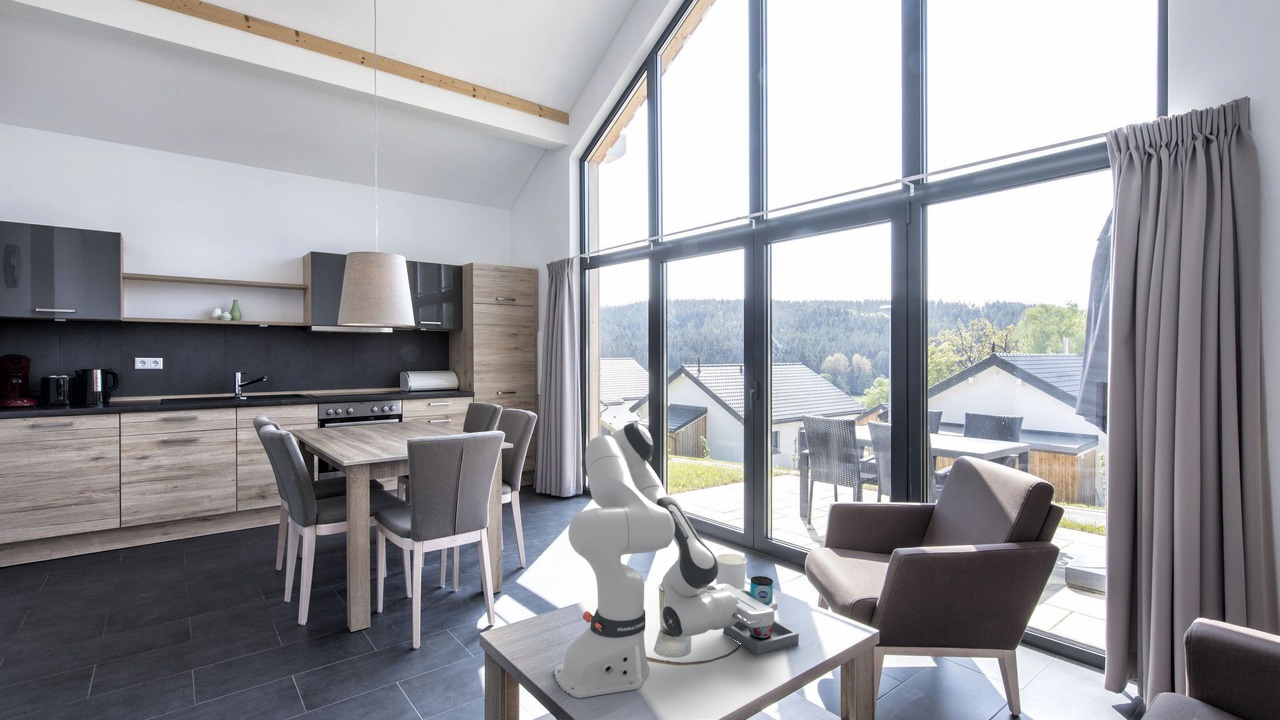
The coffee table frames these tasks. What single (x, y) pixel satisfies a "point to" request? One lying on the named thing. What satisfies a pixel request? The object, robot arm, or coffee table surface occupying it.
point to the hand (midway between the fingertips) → (763, 599)
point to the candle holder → (731, 570)
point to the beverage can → (764, 594)
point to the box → (777, 641)
